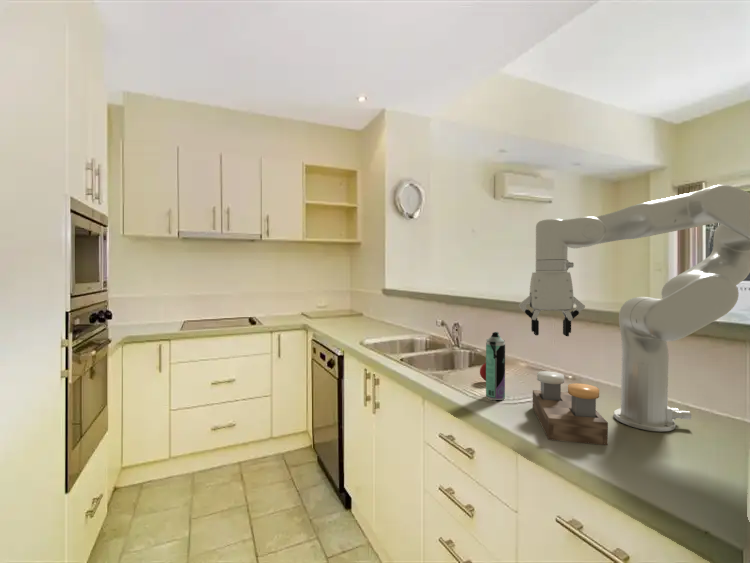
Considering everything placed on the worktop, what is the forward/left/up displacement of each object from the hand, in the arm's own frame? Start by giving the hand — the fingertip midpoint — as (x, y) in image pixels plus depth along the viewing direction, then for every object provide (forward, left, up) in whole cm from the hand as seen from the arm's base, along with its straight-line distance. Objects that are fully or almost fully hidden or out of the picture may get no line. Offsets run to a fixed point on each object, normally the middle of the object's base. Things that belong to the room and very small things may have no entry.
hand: (550, 334), depth 97 cm
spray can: (+13, -11, -22) cm, 28 cm away
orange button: (-5, +10, -17) cm, 21 cm away
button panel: (-2, +5, -22) cm, 22 cm away
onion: (+14, -26, -22) cm, 37 cm away
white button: (0, 0, -17) cm, 17 cm away
